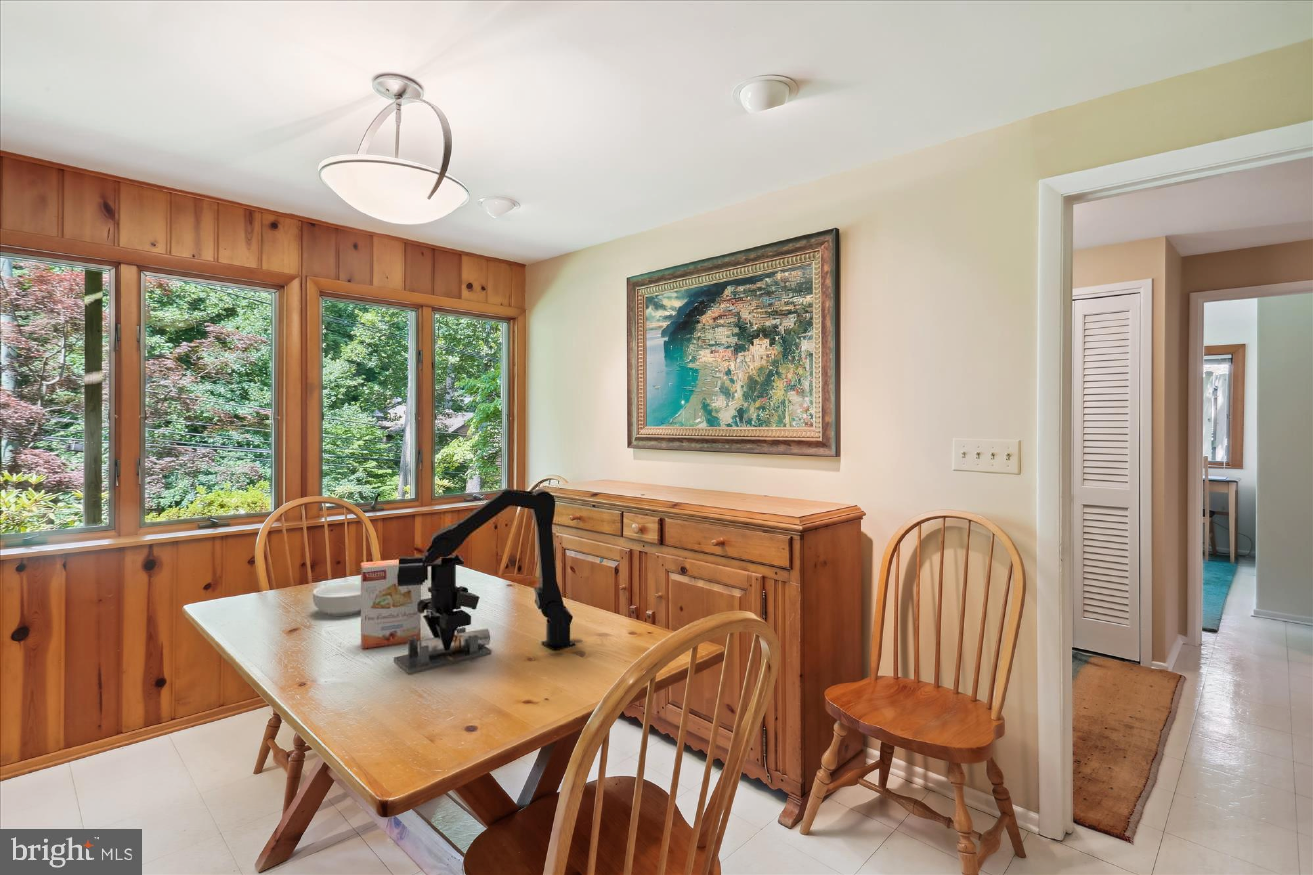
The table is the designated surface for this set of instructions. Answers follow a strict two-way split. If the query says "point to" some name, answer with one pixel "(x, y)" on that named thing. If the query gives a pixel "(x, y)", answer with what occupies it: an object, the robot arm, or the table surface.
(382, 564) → the cracker box
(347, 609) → the cereal bowl
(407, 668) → the stand
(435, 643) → the tube
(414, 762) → the table surface
